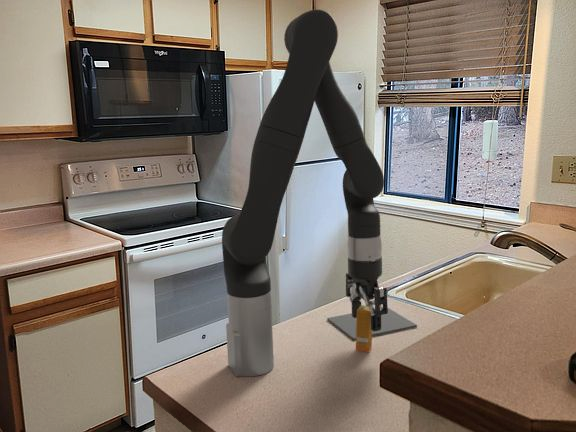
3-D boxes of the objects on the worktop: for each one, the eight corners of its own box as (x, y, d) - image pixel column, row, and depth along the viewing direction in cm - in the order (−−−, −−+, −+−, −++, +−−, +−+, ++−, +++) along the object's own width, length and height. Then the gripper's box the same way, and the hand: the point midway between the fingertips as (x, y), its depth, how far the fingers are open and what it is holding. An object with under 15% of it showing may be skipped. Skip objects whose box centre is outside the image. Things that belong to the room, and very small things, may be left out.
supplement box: (370, 353, 119) (370, 311, 117) (355, 351, 120) (355, 309, 118) (373, 346, 122) (373, 305, 120) (358, 345, 123) (358, 304, 121)
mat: (353, 340, 126) (353, 338, 125) (327, 320, 138) (327, 317, 138) (416, 327, 132) (416, 324, 132) (386, 308, 145) (386, 306, 145)
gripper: (334, 249, 122) (336, 316, 125) (366, 265, 109) (368, 338, 112) (363, 245, 125) (364, 310, 128) (397, 259, 112) (398, 331, 115)
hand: (366, 323), depth 120 cm, fingers open, 8 cm apart
